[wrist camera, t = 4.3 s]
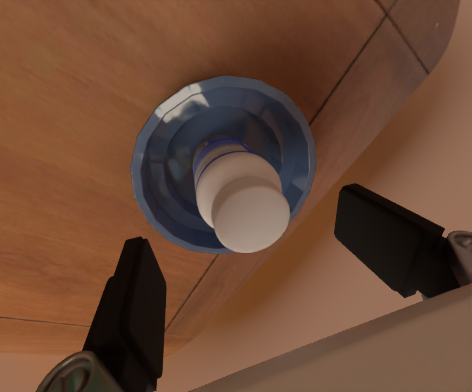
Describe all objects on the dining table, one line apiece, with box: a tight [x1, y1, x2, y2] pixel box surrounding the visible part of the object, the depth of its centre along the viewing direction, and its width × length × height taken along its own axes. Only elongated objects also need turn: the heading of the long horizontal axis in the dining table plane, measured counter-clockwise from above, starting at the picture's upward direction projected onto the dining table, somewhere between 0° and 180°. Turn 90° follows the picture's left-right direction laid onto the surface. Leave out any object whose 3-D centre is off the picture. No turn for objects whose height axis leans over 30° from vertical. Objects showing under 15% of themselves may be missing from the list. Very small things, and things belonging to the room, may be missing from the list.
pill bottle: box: [192, 134, 290, 253], centre depth 14 cm, size 5×5×10 cm
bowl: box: [130, 75, 316, 254], centre depth 17 cm, size 13×13×5 cm
